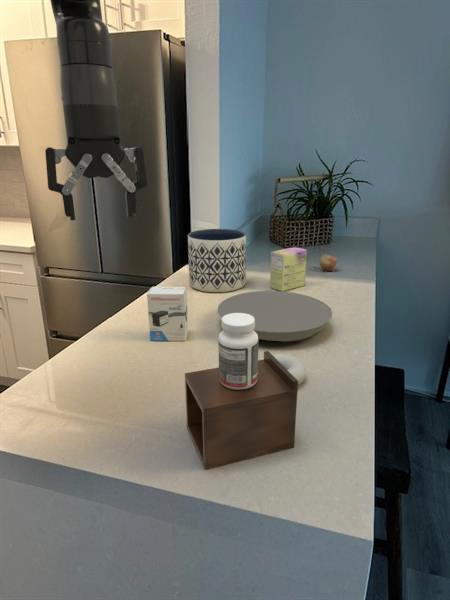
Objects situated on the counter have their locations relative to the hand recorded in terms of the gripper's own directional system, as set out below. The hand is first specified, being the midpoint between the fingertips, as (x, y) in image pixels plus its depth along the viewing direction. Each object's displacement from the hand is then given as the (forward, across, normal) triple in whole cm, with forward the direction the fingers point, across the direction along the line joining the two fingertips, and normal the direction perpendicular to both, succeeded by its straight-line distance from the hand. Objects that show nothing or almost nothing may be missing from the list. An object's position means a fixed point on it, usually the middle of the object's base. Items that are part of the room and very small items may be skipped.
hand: (102, 218), depth 67 cm
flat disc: (+32, +40, +20) cm, 55 cm away
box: (+32, +58, +46) cm, 81 cm away
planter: (+32, +38, +56) cm, 75 cm away
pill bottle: (+22, +16, -18) cm, 33 cm away
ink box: (+32, +14, +22) cm, 42 cm away
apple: (+32, +80, +58) cm, 104 cm away
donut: (+32, +30, -4) cm, 44 cm away
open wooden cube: (+32, +16, -18) cm, 40 cm away
